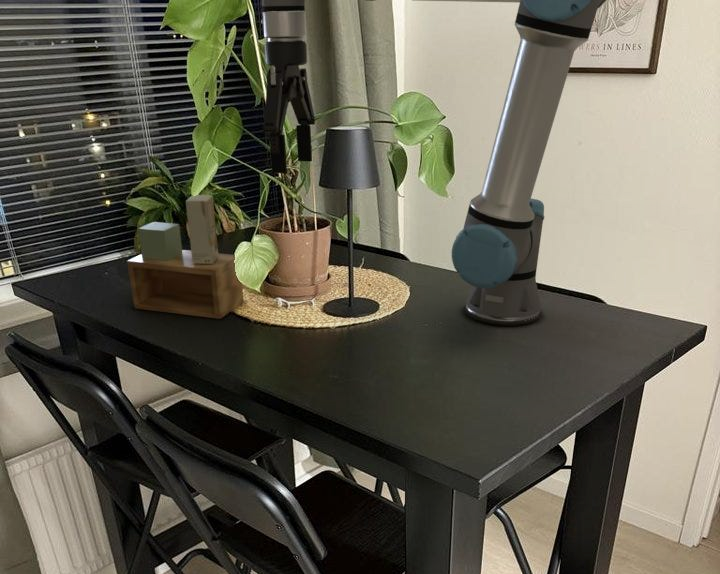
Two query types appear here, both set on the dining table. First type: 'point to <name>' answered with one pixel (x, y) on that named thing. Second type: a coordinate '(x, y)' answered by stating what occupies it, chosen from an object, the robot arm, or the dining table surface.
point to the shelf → (186, 285)
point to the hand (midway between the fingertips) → (292, 166)
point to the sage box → (160, 241)
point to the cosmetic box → (202, 229)
